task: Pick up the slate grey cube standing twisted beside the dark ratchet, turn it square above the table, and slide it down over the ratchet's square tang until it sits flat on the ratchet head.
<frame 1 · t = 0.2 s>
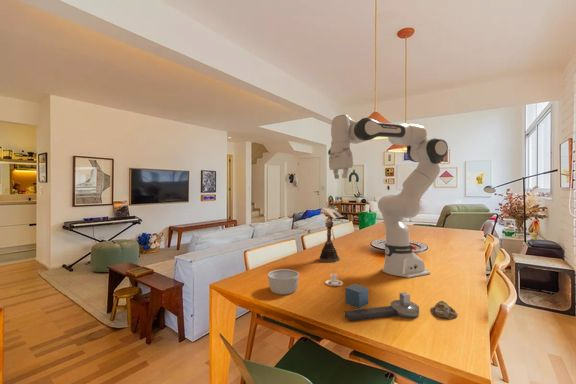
hand: (340, 178, 131), 48 cm above the table, tool pointing down, fingers open, 8 cm apart
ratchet: (404, 312, 95), on the table
slate grey cube: (356, 303, 102), on the table
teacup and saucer: (328, 285, 123), on the table
ramekin: (283, 290, 117), on the table
bird statue: (333, 260, 163), on the table
mineral rock: (443, 313, 95), on the table
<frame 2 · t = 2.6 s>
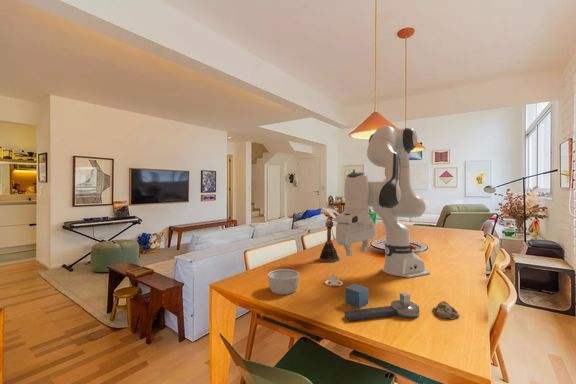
hand: (356, 253, 102), 19 cm above the table, tool pointing down, fingers open, 8 cm apart
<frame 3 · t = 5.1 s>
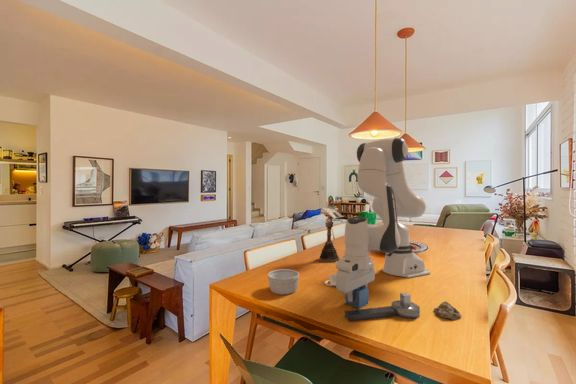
hand: (356, 298, 102), 2 cm above the table, tool pointing down, fingers closed on slate grey cube, 6 cm apart
slate grey cube: (356, 303, 102), on the table, touching gripper
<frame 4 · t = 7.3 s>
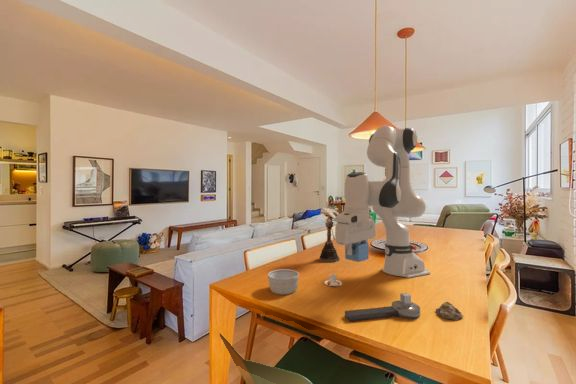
hand: (356, 253, 102), 19 cm above the table, tool pointing down, fingers closed on slate grey cube, 6 cm apart
slate grey cube: (356, 258, 102), point 17 cm above the table, touching gripper
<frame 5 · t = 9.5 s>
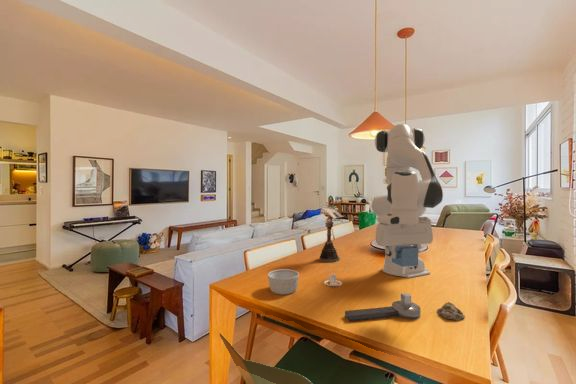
hand: (404, 257, 95), 19 cm above the table, tool pointing down, fingers closed on slate grey cube, 6 cm apart
slate grey cube: (404, 263, 95), point 17 cm above the table, touching gripper
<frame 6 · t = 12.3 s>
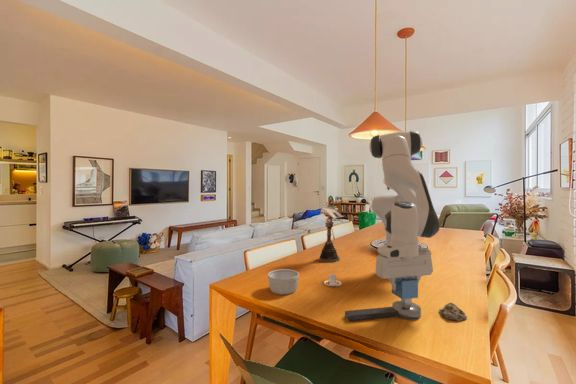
hand: (404, 289, 95), 8 cm above the table, tool pointing down, fingers closed on slate grey cube, 6 cm apart
slate grey cube: (404, 295, 95), point 6 cm above the table, touching gripper
when the fingers open (5 cm above the table, at t = 14.4 s): slate grey cube stays where it is, resting on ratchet.
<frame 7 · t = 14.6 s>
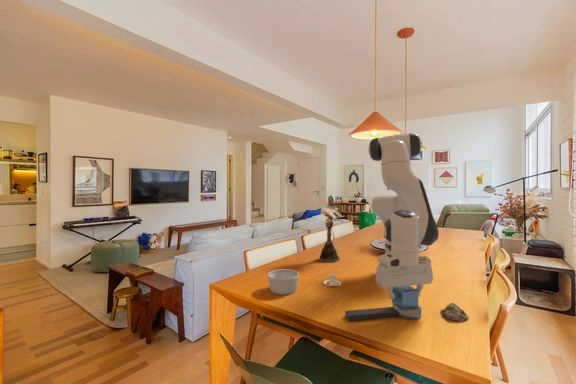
hand: (404, 297, 95), 5 cm above the table, tool pointing down, fingers open, 8 cm apart
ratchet: (406, 313, 94), on the table, touching slate grey cube
slate grey cube: (404, 305, 95), point 2 cm above the table, touching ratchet
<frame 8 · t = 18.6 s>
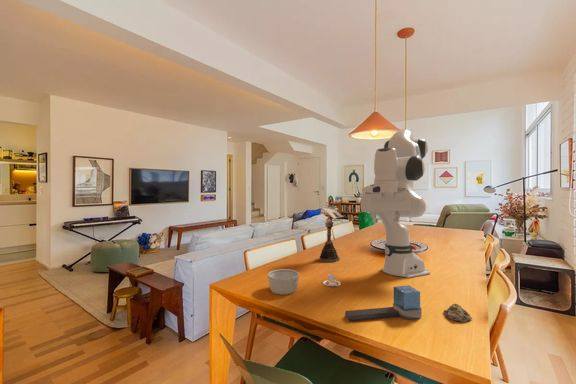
hand: (385, 222, 109), 29 cm above the table, tool pointing down, fingers open, 8 cm apart
at the end: slate grey cube 0.2 cm from the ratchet (horizontally); slate grey cube point 2.4 cm above the table; slate grey cube tilted 0° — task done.
